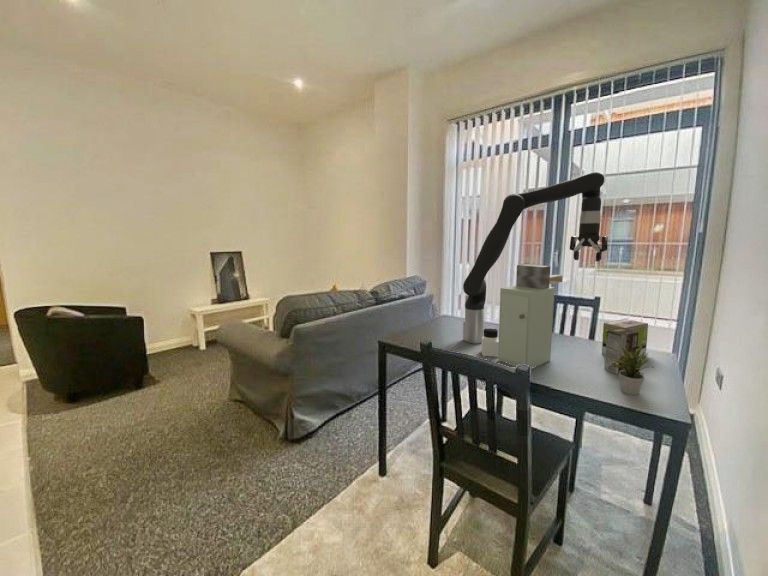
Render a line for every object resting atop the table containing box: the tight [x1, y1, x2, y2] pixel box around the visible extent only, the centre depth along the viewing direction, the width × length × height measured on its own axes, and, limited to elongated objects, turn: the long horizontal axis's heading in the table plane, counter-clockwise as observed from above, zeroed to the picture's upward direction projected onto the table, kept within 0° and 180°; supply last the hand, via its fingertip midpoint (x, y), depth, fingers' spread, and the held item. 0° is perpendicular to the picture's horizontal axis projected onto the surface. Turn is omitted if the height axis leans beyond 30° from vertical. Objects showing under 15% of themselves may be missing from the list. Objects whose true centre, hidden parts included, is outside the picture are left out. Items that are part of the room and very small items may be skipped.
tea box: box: [601, 318, 649, 358], centre depth 153 cm, size 15×10×15 cm
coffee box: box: [603, 328, 639, 375], centre depth 136 cm, size 9×6×16 cm
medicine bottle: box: [480, 327, 499, 358], centre depth 157 cm, size 7×7×12 cm
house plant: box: [609, 344, 656, 396], centre depth 120 cm, size 14×14×16 cm
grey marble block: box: [515, 263, 564, 289], centre depth 151 cm, size 12×24×9 cm, turn 125°
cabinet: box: [497, 284, 556, 369], centre depth 147 cm, size 14×19×32 cm
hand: (586, 260), depth 149 cm, fingers open, 8 cm apart
